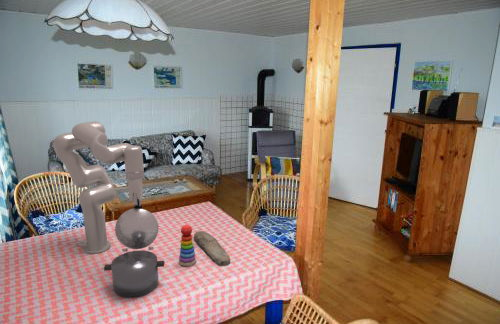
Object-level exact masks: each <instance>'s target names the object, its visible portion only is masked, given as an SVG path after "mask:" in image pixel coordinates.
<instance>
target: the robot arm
mask: <svg viewBox="0 0 500 324" xmlns="http://www.w3.org/2000/svg"><path fill="white" fill-rule="evenodd" d="M107 142H108V136H107V134H106V127H105V126H104V125H103V124H102V123H101V122H100V121H88V122H81V123H80V122H79V123H78V124H75V125H74V126H73V127H72V129H71V132H65V133H62V134H58V135H57V136H55V138H54V139H53V143H52V144H53V150H54V152H55V154H56V156H57V157H58V159H59V160H60V161H61V162H62V163H63V165H64V166H65V169H66V171H67V173H68V174H69V176H70V178H71V181H72V182H73V184H74V185H75V187H76V188H80V189H82V188H83V189H84V188H86V187H88V188H86V189H84V190H82V191H81V192H80V193H79V195H78V202H79V204H80V207H81V211H82V216H83V217H82V218H83V223H84V233H85V239H83V240H80V239H79V240H77V245H78V246H79V247H83V251H84V252H85V253H86V254H91V255H92V254H94V255H95V254H101V253H103V252H106V251H108V250H109V249H110V248H111V246H112V244H111V242H110V241H109V240H108V236H107V227H106V226H107V225H106V216H105V212H104V211H103V209H101V208H100V206H102V205H104V204H107V203H110V202H112V201H114V200H115V199H116V198H117V191H116V187H115V186H114V184H113V182H112V180H111V178H110V176H109V174H108V173H107V170H106V168H104V167H103V166H102V165H100V164H92V165H87V164H86V162H85V160H84V159H83V157H82V156H81V155H80V154H78V153H77V152H75V150H81V149H84V148H90V151H91V153H92V155H93V157H94V158H95V159H96V160H98V161H99V162H102V163H103V164H107V165H113V164H117V163H120V162H124V169H125V179H126V180H127V181H128V182H127V186H128V187H127V191H128V202H129V203H133V208H141V209H143V204H142V199H143V197H144V188H143V187H144V186H143V179H144V178H145V170H144V157H143V156H144V155H143V149H142V146H140V145H136V144H135V145H133V144H130V143H126V142H125V143H117V144H114V145H113V144H112V145H108V146H107ZM73 150H74V151H73ZM94 185H96V186H94ZM90 186H91V187H90Z"/></svg>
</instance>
